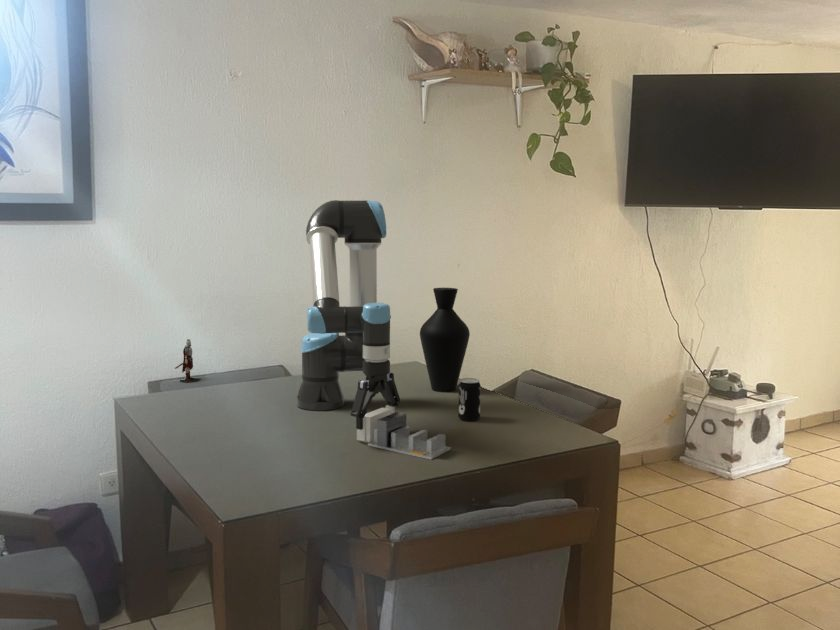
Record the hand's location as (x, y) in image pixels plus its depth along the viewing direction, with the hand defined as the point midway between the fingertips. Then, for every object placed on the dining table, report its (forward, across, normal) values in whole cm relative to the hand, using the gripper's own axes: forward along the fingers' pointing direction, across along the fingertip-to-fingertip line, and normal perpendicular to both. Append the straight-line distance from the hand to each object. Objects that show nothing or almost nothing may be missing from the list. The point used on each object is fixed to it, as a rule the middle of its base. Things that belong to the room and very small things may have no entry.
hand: (376, 434), depth 222 cm
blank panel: (+1, 0, 0) cm, 1 cm away
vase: (0, +57, +12) cm, 58 cm away
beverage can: (+1, +30, -13) cm, 33 cm away
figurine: (0, +15, +93) cm, 94 cm away
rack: (+1, -3, -13) cm, 13 cm away
